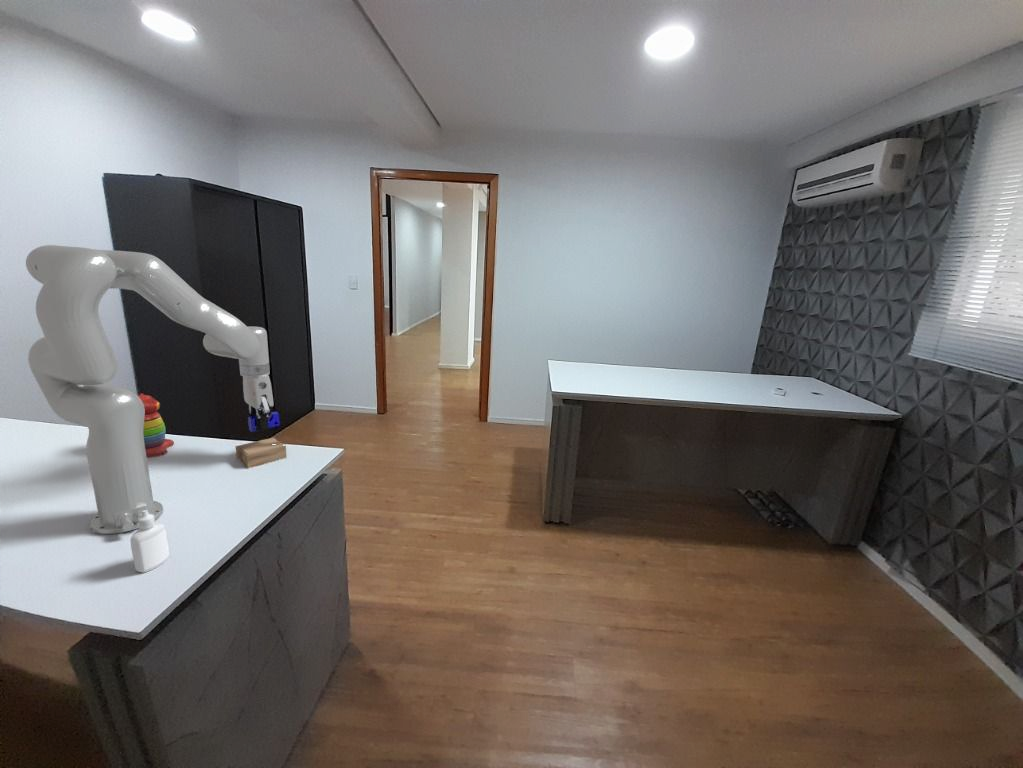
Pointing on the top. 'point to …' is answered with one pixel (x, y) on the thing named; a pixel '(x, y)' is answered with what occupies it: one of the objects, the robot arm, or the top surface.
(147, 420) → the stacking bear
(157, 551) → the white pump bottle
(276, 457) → the plinth
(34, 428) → the top surface
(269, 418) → the cable holder
